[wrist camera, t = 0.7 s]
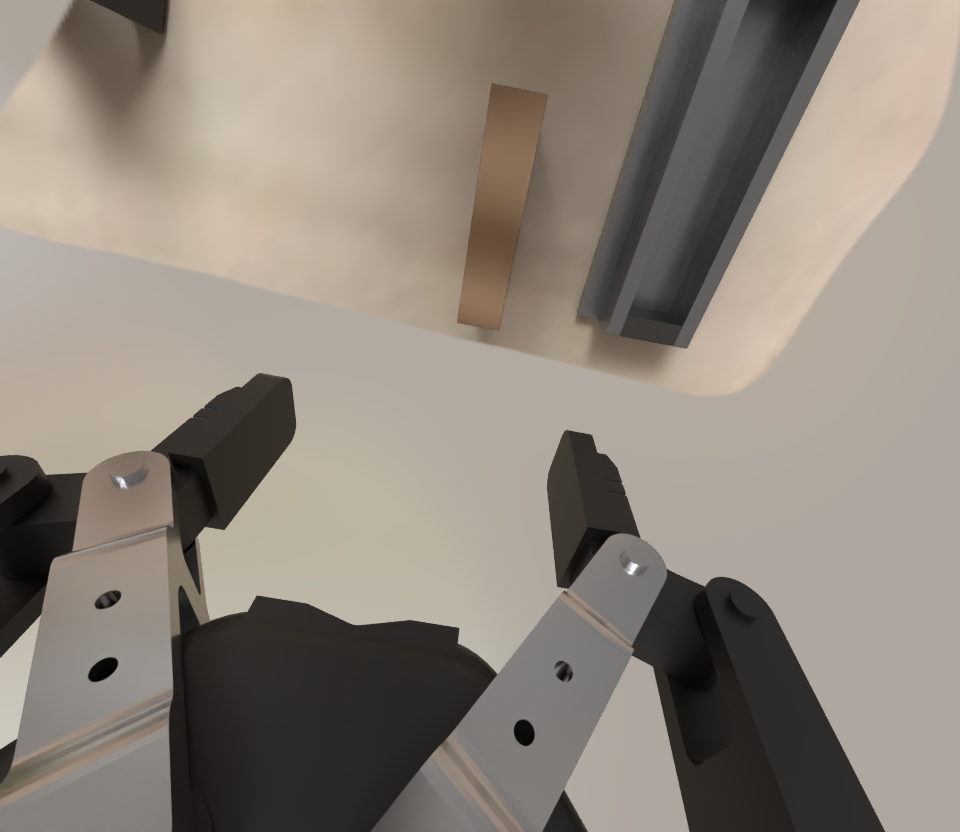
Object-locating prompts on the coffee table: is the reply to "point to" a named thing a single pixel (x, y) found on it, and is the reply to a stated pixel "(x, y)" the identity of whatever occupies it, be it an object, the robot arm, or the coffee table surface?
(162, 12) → the phone stand
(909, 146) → the coffee table surface
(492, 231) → the door panel
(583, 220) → the coffee table surface
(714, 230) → the bottom track
